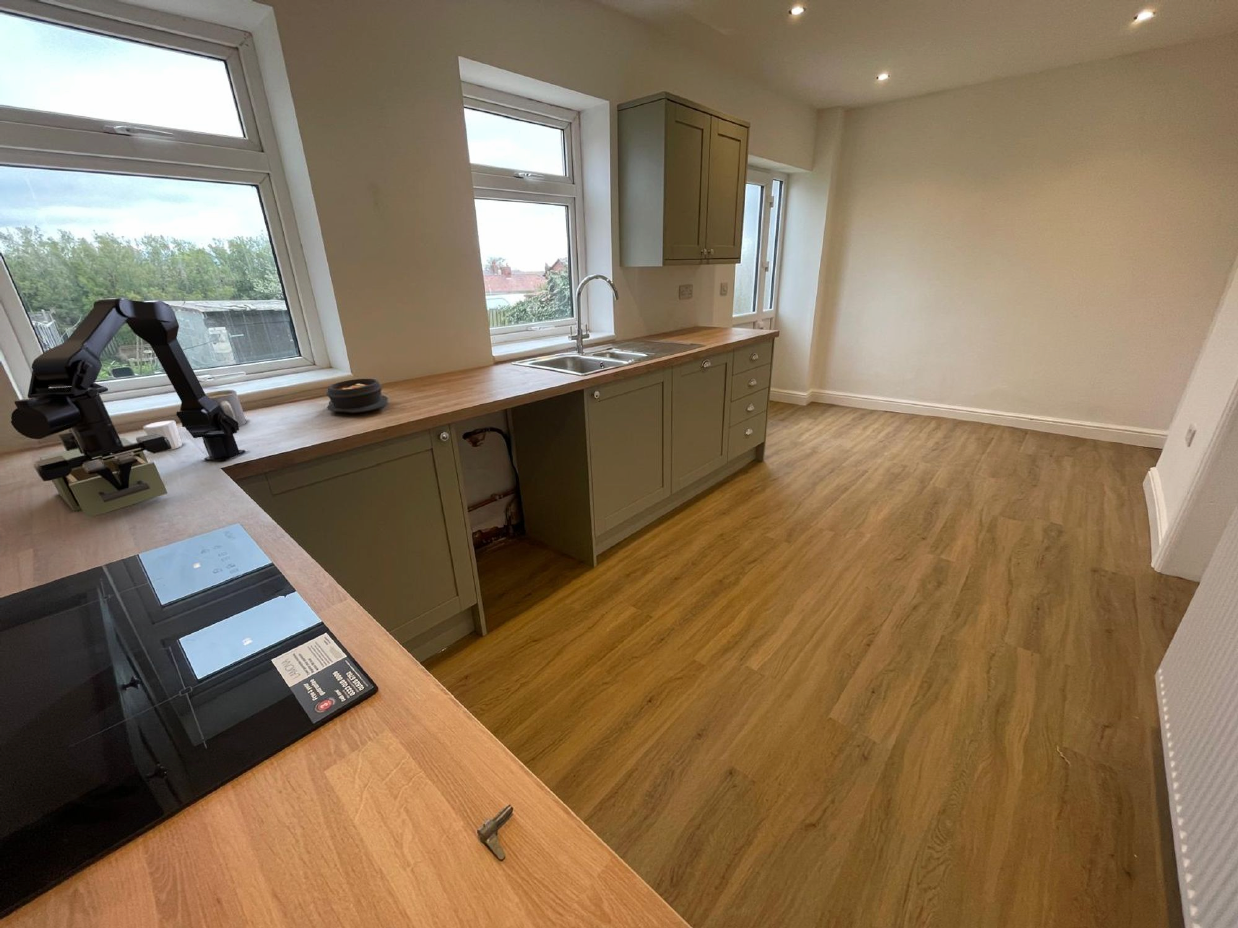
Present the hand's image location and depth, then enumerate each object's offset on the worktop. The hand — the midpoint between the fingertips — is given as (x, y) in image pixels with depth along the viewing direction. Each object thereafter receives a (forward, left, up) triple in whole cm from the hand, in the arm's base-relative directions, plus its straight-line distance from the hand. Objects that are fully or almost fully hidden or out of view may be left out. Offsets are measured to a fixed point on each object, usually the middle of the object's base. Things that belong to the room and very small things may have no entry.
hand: (125, 494), depth 101 cm
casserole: (+2, -72, -4) cm, 72 cm away
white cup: (+33, -33, -4) cm, 47 cm away
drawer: (+7, -3, -3) cm, 8 cm away
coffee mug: (+33, -51, -4) cm, 61 cm away
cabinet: (+18, -8, -4) cm, 21 cm away
